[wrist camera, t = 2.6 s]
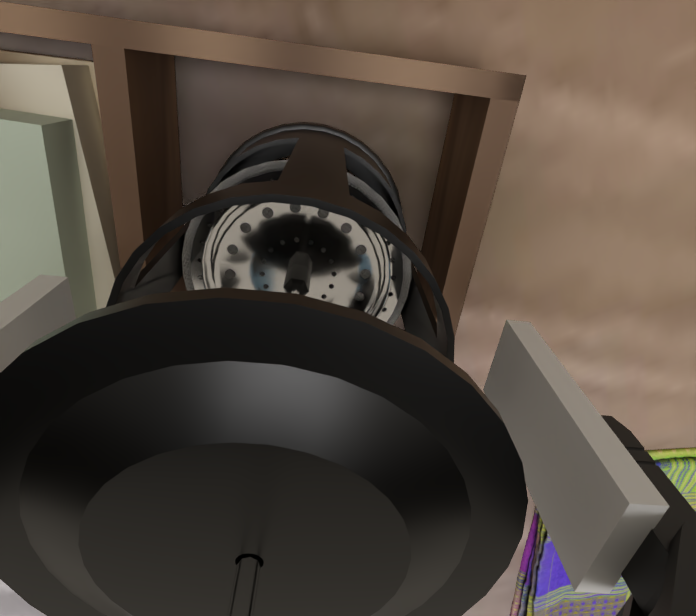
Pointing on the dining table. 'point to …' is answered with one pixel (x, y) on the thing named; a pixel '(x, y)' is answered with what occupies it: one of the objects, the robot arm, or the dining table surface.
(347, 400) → the french press
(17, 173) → the sage offcut top
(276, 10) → the dining table surface
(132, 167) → the walnut tray
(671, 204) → the dining table surface
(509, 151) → the dining table surface
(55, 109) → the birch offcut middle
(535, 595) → the dish towel
